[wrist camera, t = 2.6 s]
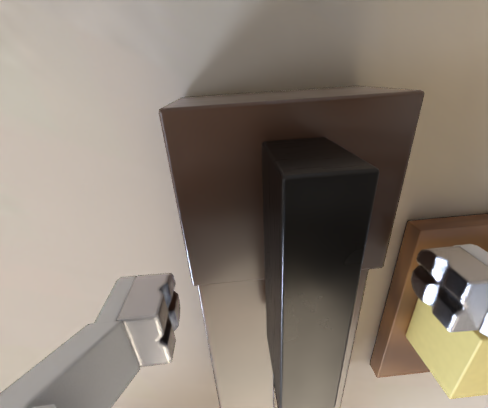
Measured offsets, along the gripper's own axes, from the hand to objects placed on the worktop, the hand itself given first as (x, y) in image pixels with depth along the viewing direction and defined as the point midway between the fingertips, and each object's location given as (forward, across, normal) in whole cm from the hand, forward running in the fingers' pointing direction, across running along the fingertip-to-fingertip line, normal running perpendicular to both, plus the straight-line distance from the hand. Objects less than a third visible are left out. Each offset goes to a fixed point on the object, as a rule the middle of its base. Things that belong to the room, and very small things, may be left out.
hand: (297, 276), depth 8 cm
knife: (+4, 0, +4) cm, 6 cm away
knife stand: (+5, 0, +4) cm, 6 cm away
